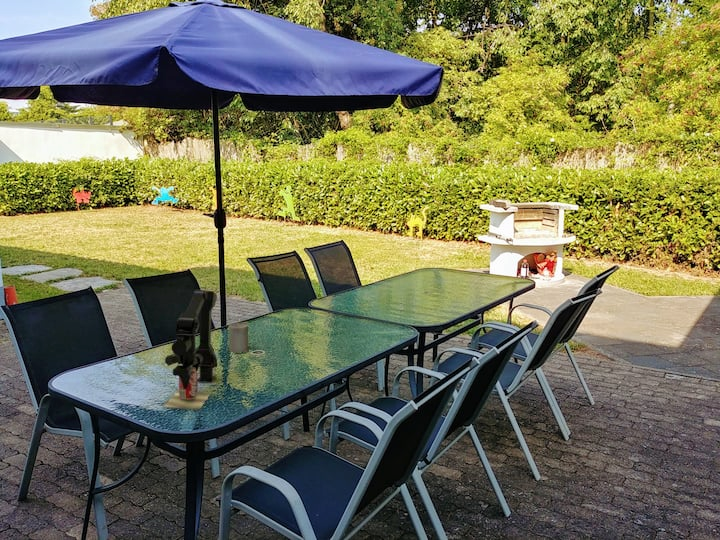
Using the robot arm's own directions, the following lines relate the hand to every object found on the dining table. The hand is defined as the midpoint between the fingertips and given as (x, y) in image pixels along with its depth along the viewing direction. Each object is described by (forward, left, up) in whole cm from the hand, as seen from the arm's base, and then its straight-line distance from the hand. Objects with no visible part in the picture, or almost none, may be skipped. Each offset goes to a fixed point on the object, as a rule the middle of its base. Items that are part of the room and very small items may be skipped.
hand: (188, 385), depth 236 cm
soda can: (0, 0, -5) cm, 5 cm away
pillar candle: (-66, +4, -7) cm, 66 cm away
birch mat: (0, 0, -6) cm, 6 cm away
